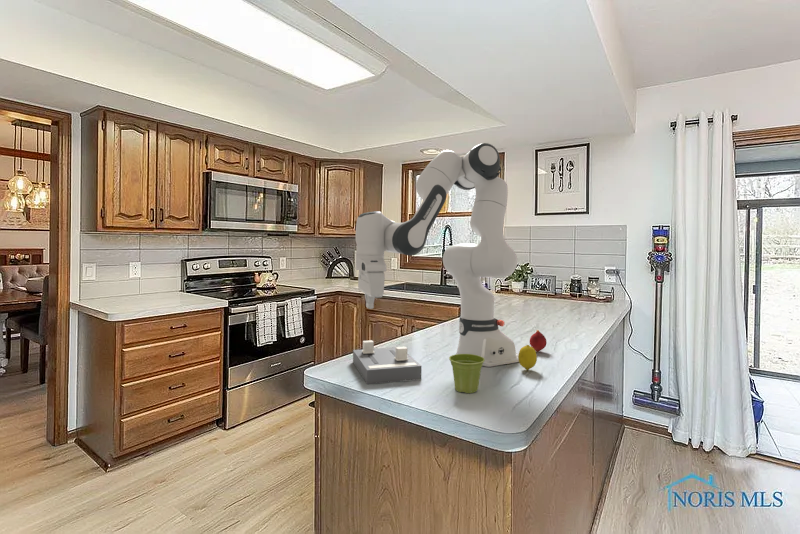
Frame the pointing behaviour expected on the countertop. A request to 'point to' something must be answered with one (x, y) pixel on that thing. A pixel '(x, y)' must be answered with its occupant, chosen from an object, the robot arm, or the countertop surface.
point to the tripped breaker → (368, 347)
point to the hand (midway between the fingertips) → (369, 308)
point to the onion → (538, 341)
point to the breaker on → (401, 354)
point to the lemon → (527, 357)
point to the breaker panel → (385, 366)
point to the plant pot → (466, 371)
